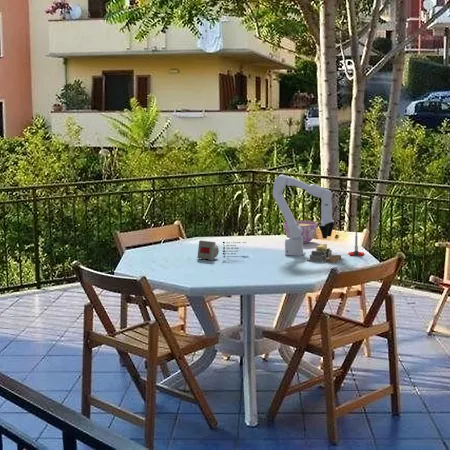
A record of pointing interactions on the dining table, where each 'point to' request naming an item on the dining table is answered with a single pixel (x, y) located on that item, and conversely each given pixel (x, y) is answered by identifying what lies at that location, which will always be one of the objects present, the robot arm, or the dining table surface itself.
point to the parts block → (333, 258)
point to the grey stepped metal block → (320, 255)
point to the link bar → (322, 247)
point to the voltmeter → (211, 250)
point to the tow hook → (356, 249)
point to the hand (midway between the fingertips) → (326, 237)
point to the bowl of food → (304, 230)
